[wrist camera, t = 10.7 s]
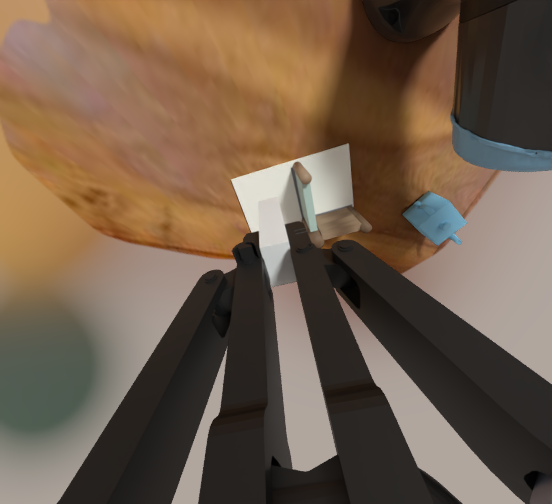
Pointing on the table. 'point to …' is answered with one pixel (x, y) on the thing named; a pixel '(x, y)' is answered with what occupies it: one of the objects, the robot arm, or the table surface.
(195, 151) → the table surface
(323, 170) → the card
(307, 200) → the swing panel
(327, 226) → the fixed fence
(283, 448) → the robot arm
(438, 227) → the teapot
